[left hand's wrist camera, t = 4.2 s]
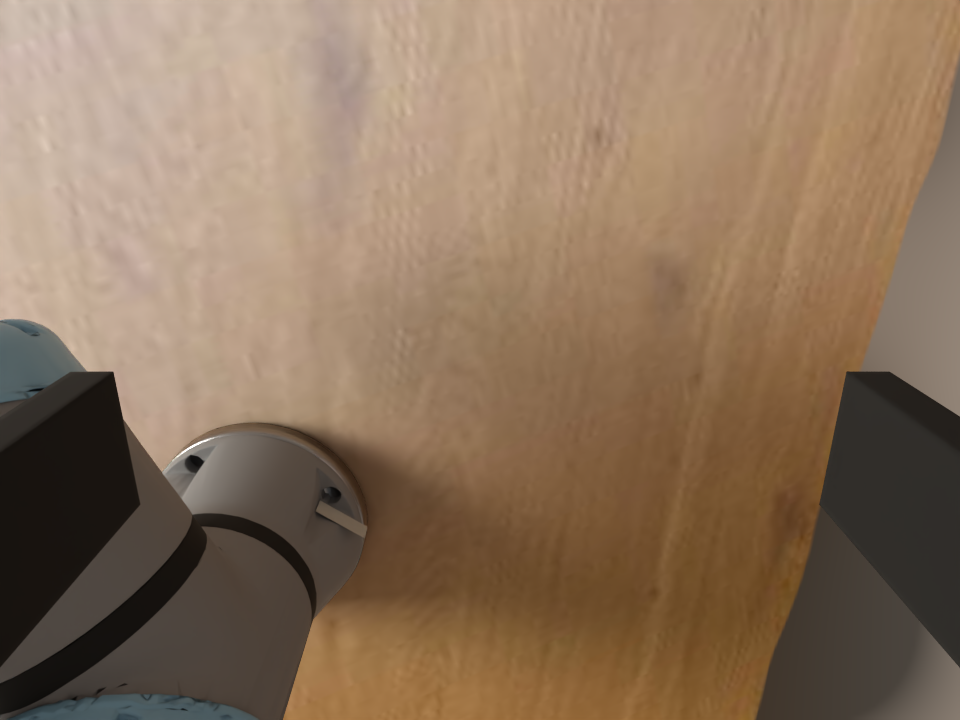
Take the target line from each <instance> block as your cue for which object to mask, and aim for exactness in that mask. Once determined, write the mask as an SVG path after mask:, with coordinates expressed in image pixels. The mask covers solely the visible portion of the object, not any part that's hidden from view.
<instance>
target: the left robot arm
mask: <svg viewBox="0 0 960 720" xmlns="http://www.w3.org/2000/svg"><path fill="white" fill-rule="evenodd" d="M820 506H821V507H822V508H823V509H824V510H825V511H826V513H827V514H828V515H829V516H830V517H831V518H832V520H833V521H834V522H835V523H836V524H837V525H838V527H839V528H840V529H841V530H842V531H843V532H844V534H845V535H846V536H847V537H848V538H849V539H850V540H851V542H852V543H853V544H854V545H855V546H856V548H857V549H858V550H859V551H860V552H861V553H862V554H863V556H864V557H865V558H866V559H867V560H868V561H869V563H870V564H871V565H872V566H873V567H874V568H875V570H876V571H877V572H878V573H879V574H880V575H881V576H882V578H883V579H884V580H885V581H886V582H887V584H888V585H889V586H890V587H891V588H892V589H893V591H894V592H895V593H896V594H897V595H898V596H899V597H900V599H901V600H902V601H903V602H904V603H905V604H906V606H907V607H908V608H909V609H910V610H911V611H912V613H913V614H914V615H915V616H916V617H917V618H918V620H919V621H920V622H921V623H922V624H923V625H924V627H925V628H926V629H927V630H928V631H929V632H930V634H931V635H932V636H933V637H934V638H935V639H936V641H937V642H938V643H939V644H940V645H941V646H942V647H943V649H944V650H945V651H946V652H947V653H948V654H949V656H950V657H951V658H952V659H953V660H954V661H955V663H956V664H957V665H958V666H959V667H960V417H959V416H958V415H956V414H955V413H953V412H952V411H950V410H949V409H947V408H945V407H944V406H942V405H941V404H939V403H938V402H936V401H934V400H933V399H931V398H930V397H928V396H927V395H925V394H924V393H922V392H920V391H919V390H917V389H916V388H914V387H913V386H911V385H909V384H908V383H906V382H905V381H903V380H902V379H900V378H898V377H897V376H895V375H894V374H892V373H891V372H847V373H846V378H845V382H844V387H843V392H842V397H841V402H840V407H839V412H838V417H837V421H836V426H835V431H834V436H833V441H832V446H831V451H830V456H829V461H828V465H827V470H826V475H825V480H824V485H823V490H822V495H821V500H820ZM367 528H368V527H367V511H366V505H365V501H364V497H363V494H362V492H361V489H360V487H359V485H358V483H357V481H356V479H355V478H354V476H353V475H352V473H351V472H350V470H349V469H348V468H347V467H346V465H345V464H344V463H343V462H342V461H341V460H340V459H339V458H338V457H337V456H336V455H335V454H334V453H333V452H331V451H330V450H329V449H328V448H326V447H325V446H324V445H322V444H321V443H319V442H317V441H316V440H314V439H312V438H311V437H308V436H306V435H304V434H302V433H300V432H297V431H294V430H292V429H288V428H285V427H281V426H276V425H271V424H262V423H242V424H234V425H228V426H224V427H220V428H217V429H214V430H212V431H209V432H207V433H205V434H203V435H201V436H199V437H198V438H196V439H194V440H193V441H191V442H190V443H189V444H188V445H186V446H185V447H184V448H183V449H182V450H181V451H180V452H179V453H178V454H177V455H176V457H175V458H174V459H173V460H172V461H171V462H170V463H169V464H168V466H167V467H166V468H165V470H164V471H163V472H161V471H160V469H159V468H158V467H157V465H156V464H155V462H154V461H153V460H152V458H151V457H150V456H149V454H148V453H147V452H146V450H145V449H144V448H143V446H142V445H141V444H140V442H139V441H138V439H137V438H136V437H135V435H134V434H133V432H132V431H131V430H130V428H129V427H128V425H127V424H126V422H125V421H124V420H123V417H122V412H121V407H120V402H119V397H118V392H117V387H116V382H115V378H114V373H113V372H87V371H86V370H85V369H84V367H83V366H82V365H81V364H80V363H79V362H78V360H77V359H76V358H75V357H74V356H73V355H72V353H71V352H70V351H69V350H68V348H67V347H66V346H65V345H64V343H63V342H62V341H61V340H60V338H59V337H58V336H57V335H56V334H55V333H54V332H52V331H51V330H50V329H48V328H46V327H45V326H43V325H40V324H38V323H35V322H32V321H27V320H20V319H6V320H0V720H283V717H284V714H285V710H286V707H287V704H288V700H289V697H290V694H291V691H292V687H293V684H294V681H295V677H296V674H297V671H298V667H299V664H300V661H301V657H302V654H303V651H304V648H305V644H306V641H307V638H308V634H309V631H310V627H311V624H312V621H313V619H314V618H315V617H316V616H317V614H318V613H319V612H320V611H321V610H322V609H323V608H324V607H325V606H326V604H327V603H328V602H329V601H330V600H331V599H332V598H333V597H334V595H335V594H336V593H337V592H338V591H339V590H340V589H341V588H342V587H343V585H344V584H345V583H346V582H347V580H348V579H349V578H350V576H351V575H352V573H353V572H354V570H355V568H356V566H357V564H358V562H359V559H360V556H361V553H362V549H363V545H364V541H365V537H366V532H367Z"/></svg>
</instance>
